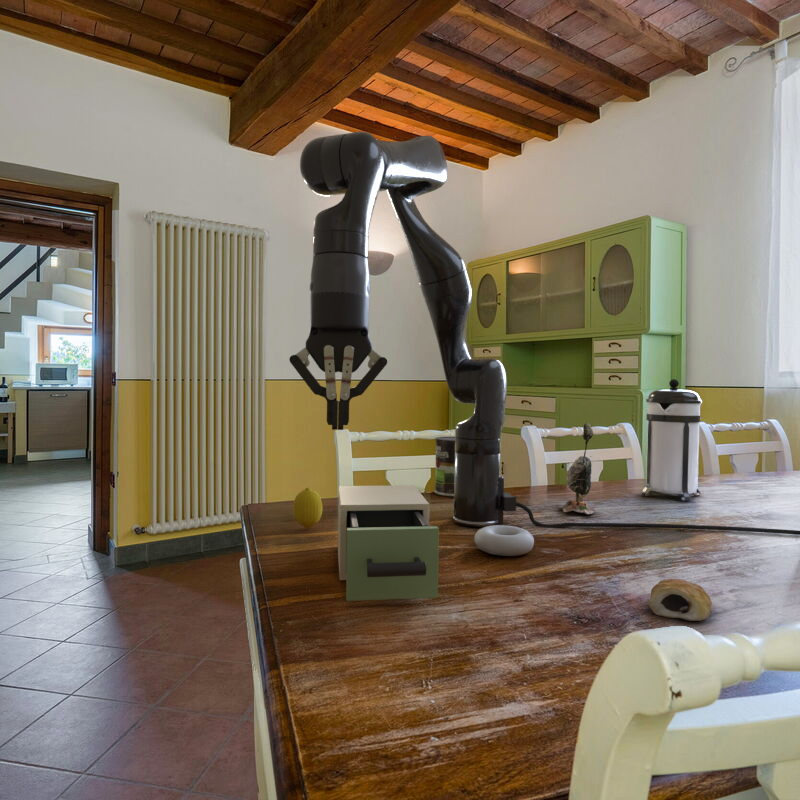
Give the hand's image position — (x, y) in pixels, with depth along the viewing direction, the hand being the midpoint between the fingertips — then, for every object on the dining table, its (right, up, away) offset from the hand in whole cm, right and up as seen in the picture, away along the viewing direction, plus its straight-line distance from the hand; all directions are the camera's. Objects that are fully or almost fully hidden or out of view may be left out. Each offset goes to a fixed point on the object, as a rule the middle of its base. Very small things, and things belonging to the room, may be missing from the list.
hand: (337, 429), depth 73 cm
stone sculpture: (+48, -21, +54) cm, 75 cm away
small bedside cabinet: (+5, -22, +16) cm, 27 cm away
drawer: (+7, -21, +3) cm, 22 cm away
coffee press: (+78, -21, +74) cm, 110 cm away
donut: (+26, -22, +24) cm, 41 cm away
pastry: (+43, -23, -1) cm, 49 cm away
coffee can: (+22, -20, +73) cm, 79 cm away
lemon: (-10, -21, +35) cm, 42 cm away
